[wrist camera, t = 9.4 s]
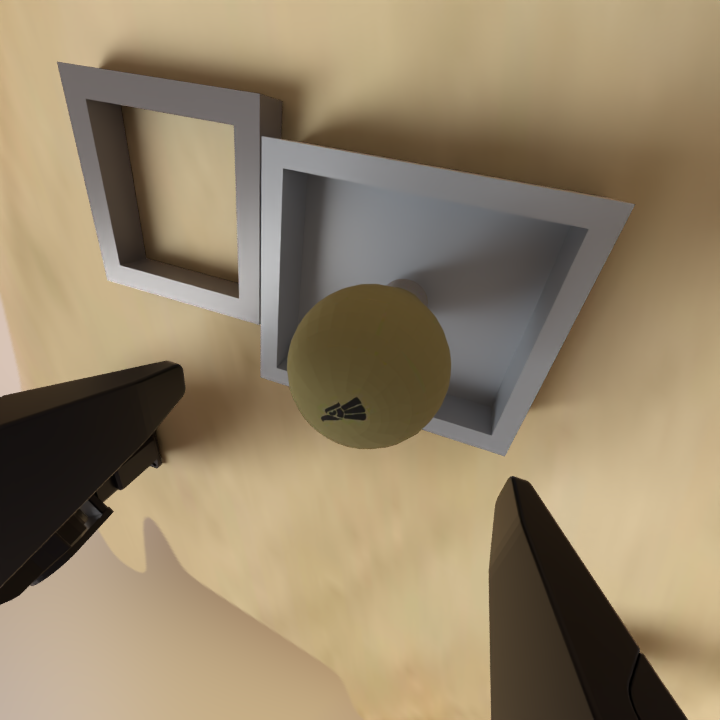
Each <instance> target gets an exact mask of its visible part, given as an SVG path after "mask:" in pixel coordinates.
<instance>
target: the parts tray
mask: <svg viewBox="0 0 720 720" xmlns="http://www.w3.org/2000/svg"><path fill="white" fill-rule="evenodd" d="M634 206H635V204H632V203H628V202H624V201H620V200H615V199H611V198H607V197H602V196H597V195H591V194H586V193H580V192H575V191H569V190H564V189H558V188H553V187H547V186H542V185H536V184H531V183H525V182H520V181H514V180H509V179H503V178H498V177H492V176H487V175H481V174H476V173H470V172H465V171H459V170H454V169H448V168H443V167H437V166H432V165H426V164H421V163H415V162H410V161H404V160H399V159H393V158H388V157H382V156H377V155H371V154H366V153H360V152H355V151H349V150H343V149H338V148H332V147H327V146H321V145H316V144H310V143H305V142H299V141H292V140H285V139H278V138H271V137H264V136H262V168H261V378H264V379H267V380H270V381H274V382H277V383H280V384H283V385H286V386H289V381H288V373H287V360H288V352H289V348H290V344H291V340H292V338H293V336H294V334H295V331H296V329H297V327H298V325H299V324H300V322H301V321H302V319H303V318H304V316H305V315H306V314H307V313H308V312H309V311H310V310H311V309H312V308H313V307H314V306H315V305H316V304H317V303H318V302H319V301H321V300H322V299H324V298H325V297H326V296H328V295H330V294H332V293H334V292H336V291H338V290H341V289H343V288H347V287H351V286H356V285H360V284H380V285H387V284H389V283H390V282H392V281H394V280H397V279H409V280H412V281H415V282H416V283H418V284H419V285H420V286H421V287H422V288H423V289H424V291H425V293H426V295H427V299H428V307H427V308H428V309H429V310H430V311H431V312H432V313H433V314H434V316H435V317H436V318H437V320H438V322H439V323H440V325H441V327H442V329H443V330H444V333H445V337H446V340H447V343H448V346H449V349H450V356H451V376H450V383H449V387H448V391H447V393H446V396H445V398H444V401H443V403H442V405H441V407H440V409H439V410H438V412H437V413H436V414H435V416H434V417H433V418H432V420H431V421H430V422H429V423H428V424H427V425H426V426H425V427H424V428H423V429H422V430H425V431H428V432H431V433H434V434H437V435H440V436H444V437H447V438H450V439H453V440H456V441H459V442H462V443H465V444H468V445H471V446H474V447H478V448H481V449H484V450H487V451H490V452H493V453H496V454H499V455H502V456H505V455H506V453H507V451H508V449H509V447H510V445H511V443H512V441H513V440H514V438H515V436H516V434H517V432H518V430H519V428H520V426H521V424H522V422H523V420H524V418H525V416H526V414H527V412H528V411H529V409H530V407H531V405H532V403H533V401H534V399H535V397H536V395H537V393H538V391H539V389H540V387H541V385H542V383H543V382H544V380H545V378H546V376H547V374H548V372H549V370H550V368H551V366H552V364H553V362H554V360H555V358H556V356H557V354H558V353H559V351H560V349H561V347H562V345H563V343H564V341H565V339H566V337H567V335H568V333H569V331H570V329H571V327H572V326H573V324H574V322H575V320H576V318H577V316H578V314H579V312H580V310H581V308H582V306H583V304H584V302H585V300H586V298H587V297H588V295H589V293H590V291H591V289H592V287H593V285H594V283H595V281H596V279H597V277H598V275H599V273H600V271H601V269H602V268H603V266H604V264H605V262H606V260H607V258H608V256H609V254H610V252H611V250H612V248H613V246H614V244H615V242H616V240H617V239H618V237H619V235H620V233H621V231H622V229H623V227H624V225H625V223H626V221H627V219H628V217H629V215H630V213H631V211H632V210H633V208H634Z"/></svg>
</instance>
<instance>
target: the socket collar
mask: <svg viewBox="0 0 720 720" xmlns="http://www.w3.org/2000/svg"><path fill="white" fill-rule="evenodd" d="M57 64H58V68H59V72H60V77H61V81H62V85H63V90H64V94H65V98H66V103H67V107H68V111H69V116H70V120H71V124H72V129H73V133H74V137H75V142H76V146H77V150H78V155H79V159H80V163H81V168H82V172H83V176H84V181H85V185H86V189H87V194H88V198H89V202H90V207H91V211H92V215H93V220H94V224H95V228H96V233H97V237H98V241H99V246H100V250H101V254H102V259H103V263H104V267H105V272H106V276H107V280H108V281H111V282H115V283H118V284H122V285H125V286H128V287H132V288H135V289H139V290H142V291H145V292H149V293H152V294H156V295H159V296H163V297H166V298H169V299H173V300H176V301H180V302H183V303H186V304H190V305H193V306H197V307H200V308H203V309H207V310H210V311H214V312H217V313H221V314H224V315H227V316H231V317H234V318H238V319H241V320H244V321H248V322H251V323H255V324H258V325H260V324H261V168H262V136H264V137H271V138H278V139H281V131H282V101H280V100H277V99H274V98H271V97H268V96H265V95H262V94H258V93H252V92H246V91H239V90H233V89H227V88H220V87H214V86H208V85H201V84H195V83H189V82H182V81H176V80H170V79H163V78H157V77H151V76H144V75H138V74H132V73H125V72H119V71H113V70H106V69H100V68H94V67H87V66H81V65H75V64H68V63H62V62H57ZM121 105H124V106H129V107H135V108H141V109H146V110H152V111H157V112H163V113H169V114H174V115H180V116H185V117H191V118H197V119H202V120H208V121H213V122H219V123H224V124H230V125H234V142H235V176H236V209H237V242H238V276H239V283H235V282H232V281H228V280H224V279H221V278H217V277H213V276H209V275H206V274H202V273H198V272H195V271H191V270H187V269H184V268H180V267H176V266H173V265H169V264H165V263H162V262H158V261H154V260H151V259H147V258H146V255H145V249H144V243H143V237H142V231H141V225H140V219H139V213H138V207H137V201H136V195H135V189H134V183H133V177H132V171H131V165H130V159H129V153H128V147H127V141H126V135H125V129H124V123H123V117H122V111H121Z"/></svg>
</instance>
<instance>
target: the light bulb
mask: <svg viewBox="0 0 720 720" xmlns="http://www.w3.org/2000/svg"><path fill="white" fill-rule="evenodd" d="M427 307H428V299H427V295H426V293H425V291H424V289H423V288H422V287H421V286H420V285H419V284H418V283H416V282H415V281H412V280H409V279H397V280H394V281H392V282H390V283H389V284H387V285H380V284H360V285H356V286H351V287H347V288H343V289H341V290H338V291H336V292H334V293H332V294H330V295H328V296H326V297H325V298H324V299H322V300H321V301H319V302H318V303H317V304H316V305H315V306H314V307H313V308H312V309H311V310H310V311H309V312H308V313H307V314H306V315H305V316H304V318H303V319H302V321H301V322H300V324H299V325H298V327H297V329H296V331H295V334H294V336H293V338H292V340H291V344H290V348H289V352H288V360H287V373H288V381H289V388H290V391H291V394H292V397H293V399H294V401H295V403H296V405H297V407H298V409H299V410H300V412H301V414H302V415H303V417H304V418H305V419H306V420H307V422H308V423H309V424H310V425H311V426H312V427H313V428H314V429H315V430H317V431H318V432H319V433H320V434H322V435H323V436H325V437H326V438H328V439H330V440H332V441H334V442H336V443H338V444H341V445H344V446H347V447H352V448H358V449H376V448H386V447H389V446H393V445H396V444H398V443H400V442H402V441H404V440H406V439H408V438H410V437H412V436H414V435H416V434H417V433H418V432H419V431H420V430H422V429H423V428H424V427H425V426H426V425H427V424H428V423H429V422H430V421H431V420H432V418H433V417H434V416H435V414H436V413H437V412H438V410H439V409H440V407H441V405H442V403H443V401H444V398H445V396H446V393H447V391H448V387H449V383H450V376H451V356H450V349H449V346H448V343H447V340H446V337H445V333H444V330H443V329H442V327H441V325H440V323H439V322H438V320H437V318H436V317H435V316H434V314H433V313H432V312H431V311H430V310H429V309H428V308H427Z"/></svg>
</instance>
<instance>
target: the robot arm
mask: <svg viewBox="0 0 720 720" xmlns="http://www.w3.org/2000/svg"><path fill="white" fill-rule="evenodd" d="M184 393H185V381H184V374H183V368H182V367H181V365H179V364H177V363H174V362H171V361H162V362H158V363H153V364H148V365H144V366H139V367H135V368H130V369H125V370H121V371H116V372H111V373H107V374H102V375H97V376H93V377H88V378H83V379H79V380H74V381H69V382H65V383H60V384H55V385H51V386H46V387H41V388H37V389H32V390H27V391H23V392H18V393H13V394H9V395H4V396H2V397H0V605H1V604H3V603H5V602H8V601H10V600H12V599H14V598H16V597H17V596H19V595H20V594H21V593H22V592H23V591H24V590H25V589H26V588H27V587H28V586H29V585H31V586H34V585H36V584H38V583H40V582H41V581H43V580H44V579H46V578H47V577H49V576H50V575H51V574H53V573H54V572H55V571H56V570H58V569H59V568H60V567H61V566H62V565H64V564H65V563H66V562H67V561H68V560H69V559H70V558H71V557H72V556H73V555H74V554H75V553H76V552H77V551H78V550H79V549H80V548H81V547H82V545H83V544H84V543H85V542H86V541H87V540H88V539H89V538H90V537H91V536H92V534H94V532H95V531H96V530H97V529H98V528H99V527H100V526H101V525H102V524H103V523H104V522H105V521H106V520H107V518H108V517H109V516H110V515H111V514H112V513H113V512H114V511H113V510H112V509H111V508H110V507H107V506H106V505H105V504H104V503H103V502H104V501H105V500H106V499H108V498H109V497H110V496H111V495H112V494H113V493H114V492H116V491H117V490H122V489H124V488H125V487H126V486H128V485H129V484H130V483H131V482H132V481H133V480H134V479H135V478H137V477H138V476H139V475H140V474H141V473H142V472H143V471H144V470H146V469H147V468H148V467H149V466H152V467H154V468H158V467H159V466H161V465H162V462H161V457H160V453H159V448H158V443H157V438H156V433H155V430H156V429H157V427H158V426H159V425H160V424H161V423H162V421H163V420H164V419H165V418H166V416H167V415H168V414H169V413H170V412H171V410H172V409H173V408H174V407H175V405H176V404H177V403H178V402H179V401H180V399H181V398H182V397H183V395H184ZM489 621H490V678H491V720H688V719H687V717H686V716H685V714H684V713H683V711H682V710H681V709H680V707H679V706H678V704H677V703H676V701H675V700H674V698H673V697H672V695H671V694H670V692H669V691H668V690H667V688H666V687H665V685H664V684H663V682H662V681H661V679H660V678H659V676H658V675H657V673H656V672H655V670H654V669H653V667H652V666H651V664H650V663H649V661H648V660H647V658H646V657H645V655H644V654H643V653H639V652H640V648H639V646H638V645H637V643H636V642H635V640H634V639H633V637H632V636H631V634H630V633H629V631H628V630H627V628H626V627H625V625H624V624H623V622H622V621H621V619H620V618H619V616H618V615H617V613H616V612H615V610H614V609H613V607H612V606H611V604H610V603H609V601H608V600H607V598H606V597H605V595H604V594H603V592H602V590H601V589H600V587H599V586H598V584H597V583H596V581H595V580H594V578H593V577H592V575H591V574H590V572H589V571H588V569H587V568H586V566H585V565H584V563H583V562H582V560H581V559H580V557H579V556H578V554H577V553H576V551H575V550H574V548H573V547H572V545H571V544H570V542H569V541H568V539H567V538H566V536H565V535H564V533H563V532H562V530H561V529H560V527H559V526H558V524H557V523H556V521H555V519H554V518H553V516H552V515H551V513H550V512H549V510H548V509H547V507H546V506H545V504H544V503H543V501H542V500H541V498H540V497H539V495H538V494H537V492H536V491H535V489H534V488H533V486H532V485H531V483H529V482H528V481H526V480H523V479H520V478H517V477H514V476H511V477H510V478H509V479H508V480H507V482H506V483H505V485H504V487H503V489H502V491H501V492H500V494H499V496H498V498H497V501H496V505H495V512H494V522H493V532H492V542H491V552H490V563H489Z"/></svg>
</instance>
